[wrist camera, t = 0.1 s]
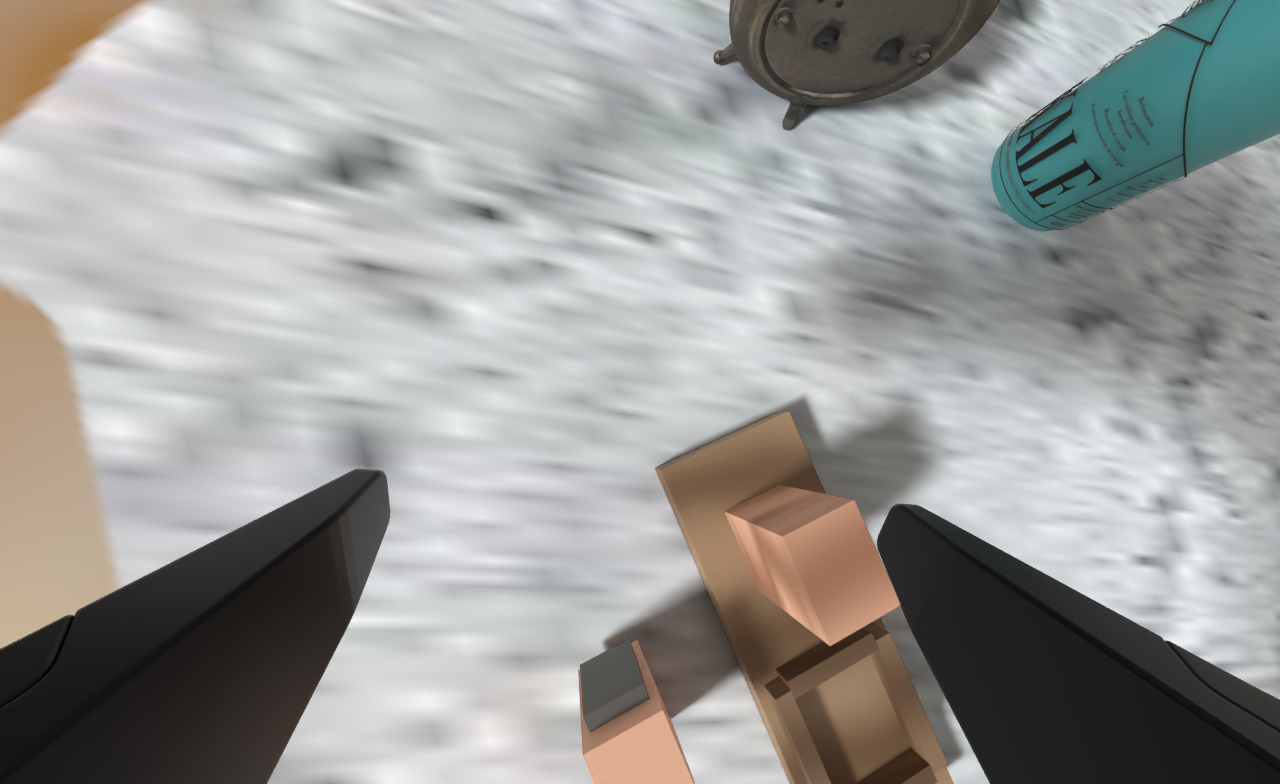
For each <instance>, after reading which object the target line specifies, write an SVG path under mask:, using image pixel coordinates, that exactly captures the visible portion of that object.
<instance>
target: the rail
mask: <svg viewBox="0 0 1280 784" xmlns="http://www.w3.org/2000/svg"><path fill="white" fill-rule="evenodd" d="M655 470H656V472H657V474H658V477H659V479H660V481H661V484H662V486H663V488H664V491H665V493H666V495H667V498H668V500H669V502H670V505H671V507H672V509H673V512H674V514H675V516H676V519H677V521H678V523H679V526H680V528H681V530H682V533H683V535H684V537H685V540H686V542H687V544H688V547H689V549H690V551H691V554H692V556H693V558H694V561H695V563H696V566H697V568H698V570H699V573H700V575H701V577H702V580H703V582H704V584H705V587H706V589H707V591H708V594H709V596H710V598H711V601H712V603H713V605H714V608H715V610H716V612H717V615H718V617H719V619H720V622H721V624H722V626H723V629H724V631H725V633H726V636H727V638H728V640H729V643H730V645H731V647H732V650H733V652H734V654H735V657H736V659H737V661H738V664H739V666H740V668H741V671H742V673H743V675H744V678H745V680H746V682H747V685H748V687H749V689H750V692H751V694H752V696H753V699H754V701H755V703H756V706H757V708H758V710H759V713H760V715H761V717H762V720H763V722H764V724H765V727H766V729H767V731H768V734H769V736H770V738H771V741H772V743H773V745H774V748H775V750H776V752H777V755H778V757H779V759H780V762H781V764H782V766H783V769H784V771H785V773H786V776H787V778H788V780H789V783H790V784H954V783H953V781H952V779H951V777H950V774H949V772H948V770H947V768H946V765H947V764H948V763H947V761H946V758H945V756H944V754H943V752H942V749H941V747H940V745H939V743H938V740H937V738H936V736H935V734H934V731H933V729H932V727H931V725H930V722H929V720H928V718H927V716H926V713H925V711H924V709H923V706H922V704H921V702H920V700H919V697H918V695H917V693H916V691H915V688H914V686H913V684H912V682H911V679H910V677H909V675H908V673H907V670H906V668H905V666H904V663H903V661H902V659H901V657H900V654H899V652H898V650H897V648H896V645H895V643H894V641H893V639H892V636H891V634H890V632H888V631H886V629H885V627H884V625H883V623H882V620H881V618H880V617H882V616H883V615H885V614H887V613H888V612H890V611H892V610H894V609H895V608H897V607H899V606H901V605H900V603H899V600H898V598H897V595H896V593H895V590H894V588H893V585H892V583H891V581H890V579H889V576H888V574H887V572H886V570H885V567H884V565H883V563H882V561H881V558H880V556H879V554H878V552H877V549H876V547H875V545H874V543H873V540H872V538H871V536H870V534H869V531H868V529H867V527H866V525H865V522H864V520H863V518H862V516H861V513H860V511H859V509H858V507H857V504H856V502H855V500H854V499H849V498H844V497H839V496H833V495H828V494H825V491H824V489H823V487H822V485H821V482H820V480H819V478H818V476H817V473H816V471H815V469H814V466H813V464H812V462H811V460H810V457H809V455H808V453H807V451H806V448H805V446H804V444H803V442H802V439H801V437H800V435H799V433H798V430H797V428H796V426H795V423H794V421H793V419H792V417H791V414H790V412H789V411H786V412H779V413H775V414H772V415H770V416H768V417H766V418H764V419H761V420H759V421H757V422H755V423H753V424H751V425H748V426H746V427H744V428H742V429H740V430H737V431H735V432H733V433H731V434H729V435H726V436H724V437H722V438H720V439H718V440H716V441H713V442H711V443H709V444H707V445H705V446H702V447H700V448H698V449H696V450H694V451H691V452H689V453H687V454H685V455H683V456H681V457H678V458H676V459H674V460H672V461H670V462H667V463H665V464H663V465H661V466H659V467H656V468H655Z"/></svg>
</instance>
